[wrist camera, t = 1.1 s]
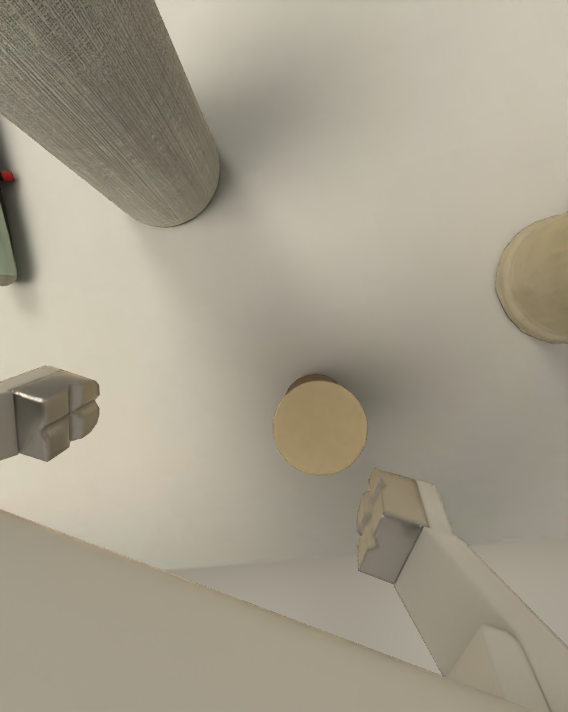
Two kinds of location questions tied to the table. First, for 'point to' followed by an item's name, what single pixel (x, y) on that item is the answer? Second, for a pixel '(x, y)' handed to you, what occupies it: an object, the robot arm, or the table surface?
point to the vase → (109, 102)
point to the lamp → (537, 279)
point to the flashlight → (6, 241)
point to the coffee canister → (319, 426)
